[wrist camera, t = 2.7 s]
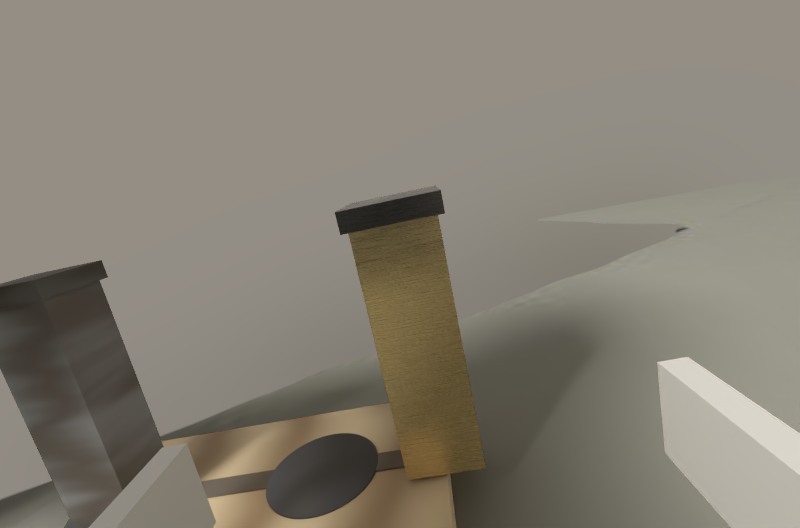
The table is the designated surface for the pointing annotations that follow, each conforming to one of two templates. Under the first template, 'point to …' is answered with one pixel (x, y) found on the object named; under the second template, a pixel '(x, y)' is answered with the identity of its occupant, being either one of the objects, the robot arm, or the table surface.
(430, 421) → the brass leg
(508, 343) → the table surface
